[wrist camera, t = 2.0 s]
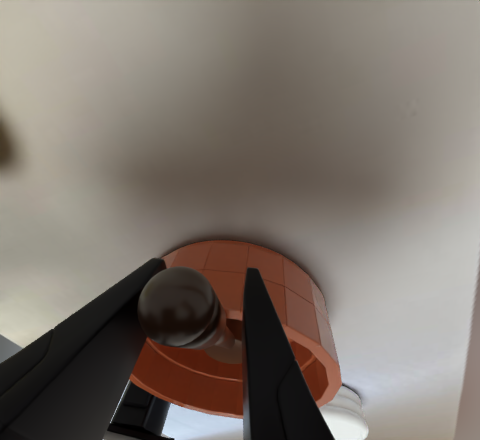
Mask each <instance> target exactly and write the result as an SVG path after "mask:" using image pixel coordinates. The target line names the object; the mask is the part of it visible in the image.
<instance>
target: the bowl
mask: <svg viewBox="0 0 480 440" xmlns="http://www.w3.org/2000/svg"><path fill="white" fill-rule="evenodd" d="M160 259H164V260H165V263H166V267H167V268H170V267H176V266H183V267H189V268H192V269H195V270H197V271H199V272H200V273H201V274H203V275H204V276H205V277H206V278H207V279H208V281H209V282H210V284H211V286H212V287H213V289H214V291H215V293H216V295H217V297H218V299H219V301H220V302H221V304H222V306H223V308H224V310H225V314H226V318H229V319H236V320H240V321H242V312H243V293H244V285H245V277H246V270H247V268H248V267H252V268H258V269H259V271H260V274H261V276H262V278H263V281H264V283H265V286H266V288H267V290H268V293H269V295H270V297H271V300H272V302H273V305H274V307H275V309H276V312H277V314H278V317H279V319H280V321H281V324H282V326H283V329H284V331H285V333H286V336H287V338H288V341H289V343H290V345H291V348H292V350H293V353H294V355H295V357H296V359H295V360H297V362H298V364H299V367H300V369H301V371H302V374H303V376H304V378H305V380H306V383H307V385H308V387H309V389H310V392H311V394H312V396H313V398H314V400H315V402H316V404H317V406H318V408H320V407H322V406H324V405H325V404H327V403H329V402H331V401H332V400H333V398H334V397H335V395H336V394H337V392H338V391H339V389H340V388H341V386H342V381H341V373H340V366H339V362H338V357H337V353H336V349H335V344H334V340H333V336H332V331H331V327H330V323H329V318H328V314H327V310H326V305H325V301H324V297H323V294H322V293H321V292H320V290H319V289H318V287H317V286H316V285H315V283H314V282H313V280H312V279H311V278H310V276H309V275H308V274H306V273H305V272H304V271H303V270H302V269H301V268H300V267H299V266H297V265H296V264H295V263H294V262H292V261H291V260H289V259H288V258H286V257H284V256H283V255H281V254H279V253H277V252H275V251H273V250H270V249H267V248H264V247H262V246H259V245H255V244H251V243H246V242H240V241H233V240H212V241H203V242H197V243H193V244H190V245H187V246H183V247H181V248H179V249H177V250H175V251H173V252H172V253H170V254H168V255H166V256H164V257H162V258H160ZM129 380H130V381H132V382H133V383H134V384H135V385H137V386H138V387H140V388H142V389H144V390H145V391H147V392H149V393H151V394H153V395H154V396H156V397H158V398H160V399H163V400H165V401H168V402H170V403H173V404H176V405H178V406H181V407H184V408H188V409H191V410H195V411H199V412H203V413H207V414H211V415H218V416H224V417H231V418H237V419H243V380H242V363H240V364H228V363H223V362H220V361H217V360H215V359H213V358H211V357H210V356H208V355H207V354H206V352H205V351H204V349H202V350H197V349H188V348H178V347H169V346H164V345H161V344H158V343H157V342H155V341H153V340H151V339H150V338H149V337H147V339H146V341H145V344H144V346H143V348H142V351H141V353H140V355H139V357H138V360H137V362H136V364H135V367H134V369H133V371H132V373H131V376H130V378H129Z"/></svg>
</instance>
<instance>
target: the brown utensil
mask: <svg viewBox="0 0 480 440" xmlns="http://www.w3.org/2000/svg"><path fill="white" fill-rule="evenodd" d="M137 313H138V320H139V322H140V325H141V327H142V329H143V331H144V332H145V334H146V335H147V336H148V337H149V338H150V339H151V340H153V341H155V342H157V343H158V344H161V345H164V346H169V347H178V348H188V349H197V350H202V349H204V351H205V352H206V354H207V355H208V356H210V357H211V358H213V359H215V360H217V361H220V362H223V363H228V364H240V363H242V321H240V320H236V319H229V318H226V314H225V310H224V308H223V306H222V304H221V302H220V301H219V299H218V297H217V295H216V293H215V291H214V289H213V287H212V286H211V284H210V282H209V281H208V279H207V278H206V277H205V276H204V275H203V274H201V273H200V272H199V271H197V270H195V269H192V268H189V267H183V266H176V267H170V268H167V269H165V270H162V271H161V272H159V273H157V274H156V275H155V276H154V277H152V278H151V279H150V280H149V282H148V283H147V284H146V285H145V287H144V288H143V290H142V292H141V295H140V297H139V301H138V308H137Z"/></svg>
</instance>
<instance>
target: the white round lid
mask: <svg viewBox="0 0 480 440" xmlns="http://www.w3.org/2000/svg"><path fill="white" fill-rule="evenodd" d="M319 410H320V412H321V414H322V416H323V418H324V420H325V422H326V423H327V425H328V427H329V429H330V431H331V433H332V435H333V436H334V438H335V440H364V439H365V438H366V437H367V435H368V432H369V430H368V425H367V423H366V422H365V414H364V411H363V410H362V402H361V400H360V398H359V397H358V395H357V394H356V393H354V392H353V391H352V390H350V389H348V388H347V387H344V386H341V388H340V389H339V391H338V392H337V394H336V395H335V397H334V398H333V400H332V401H331V402H329V403H327V404H325V405H324V406H322V407H320V408H319Z"/></svg>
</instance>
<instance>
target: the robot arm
mask: <svg viewBox="0 0 480 440" xmlns="http://www.w3.org/2000/svg"><path fill="white" fill-rule="evenodd" d="M165 269H167V267H166V263H165V260H164V259H159V258H153V259H151V260H149V261H148V262H147V263H145V264H144V265H142V266H141V267H139V268H138V269H137V270H135V271H134V272H132V273H131V274H129V275H128V276H127V277H125V278H124V279H122V280H121V281H119V282H118V283H117V284H115V285H114V286H112V287H111V288H110V289H108V290H107V291H105V292H104V293H102V294H101V295H100V296H98V297H97V298H95V299H94V300H92V301H91V302H90V303H88V304H87V305H85V306H84V307H82V308H81V309H80V310H78V311H77V312H75V313H74V314H72V315H71V316H70V317H68V318H67V319H65V320H64V321H63V322H61V323H60V324H58V325H57V326H55V328H54V329H51V330H50V331H48V332H47V333H45V334H44V335H42V336H41V337H40V338H38V339H37V340H35V341H34V342H32V343H31V344H29V345H28V346H26V347H25V348H23V349H22V350H21V351H19V352H18V353H16V354H15V355H13V356H11V357H10V358H8V359H7V360H5V361H4V362H2V363H1V364H0V440H103V439H104V440H174V438H166V437H162V436H161V434H162V430H163V427H164V424H165V420H166V417H167V414H168V410H169V407H170V404H171V403H170V402H168V401H165V400H163V399H160V398H158V397H156V396H154V395H153V394H151V393H149V392H147V391H145V390H144V389H142V388H140V387H138V386H137V385H135V384H134V383H133V382H132V381H129V384H128V386H127V388H126V390H125V392H124V389H125V387H126V385H127V383H128V380H129V378H130V376H131V373H132V371H133V369H134V367H135V364H136V362H137V360H138V357H139V355H140V353H141V351H142V348H143V346H144V344H145V341H146V339H147V337H148V336H147V335H146V334H145V332H144V331H143V329H142V327H141V325H140V322H139V320H138V313H137V308H138V301H139V297H140V295H141V292H142V290H143V288H144V287H145V285H146V284H147V283H148V282H149V280H150V279H151V278H152V277H154V276H155V275H156V274H157V273H159V272H161V271H162V270H165ZM295 359H296V357H295V355H294V353H293V350H292V348H291V345H290V343H289V341H288V338H287V336H286V333H285V331H284V329H283V326H282V324H281V321H280V319H279V317H278V314H277V312H276V309H275V307H274V305H273V302H272V300H271V297H270V295H269V293H268V290H267V288H266V286H265V283H264V281H263V278H262V276H261V274H260V271H259V269H258V268H252V267H248V268H247V270H246V277H245V285H244V293H243V312H242V380H243V438H244V440H335V438H334V436H333V435H332V433H331V431H330V429H329V427H328V425H327V423H326V422H325V420H324V418H323V416H322V414H321V412H320V410H319V408H318V406H317V404H316V402H315V400H314V398H313V396H312V394H311V392H310V389H309V387H308V385H307V383H306V380H305V378H304V376H303V374H302V371H301V369H300V367H299V364H298V362H297V360H295ZM123 392H124V395H123V397H122V399H121V396H122V394H123ZM120 399H121V401H120ZM119 401H120V403H119ZM118 403H119V406H118V408H117V405H118ZM116 408H117V410H116ZM115 410H116V413H115V415H114V412H115ZM113 415H114V417H113ZM112 417H113V419H112ZM111 419H112V421H111ZM110 422H111V423H110Z"/></svg>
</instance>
